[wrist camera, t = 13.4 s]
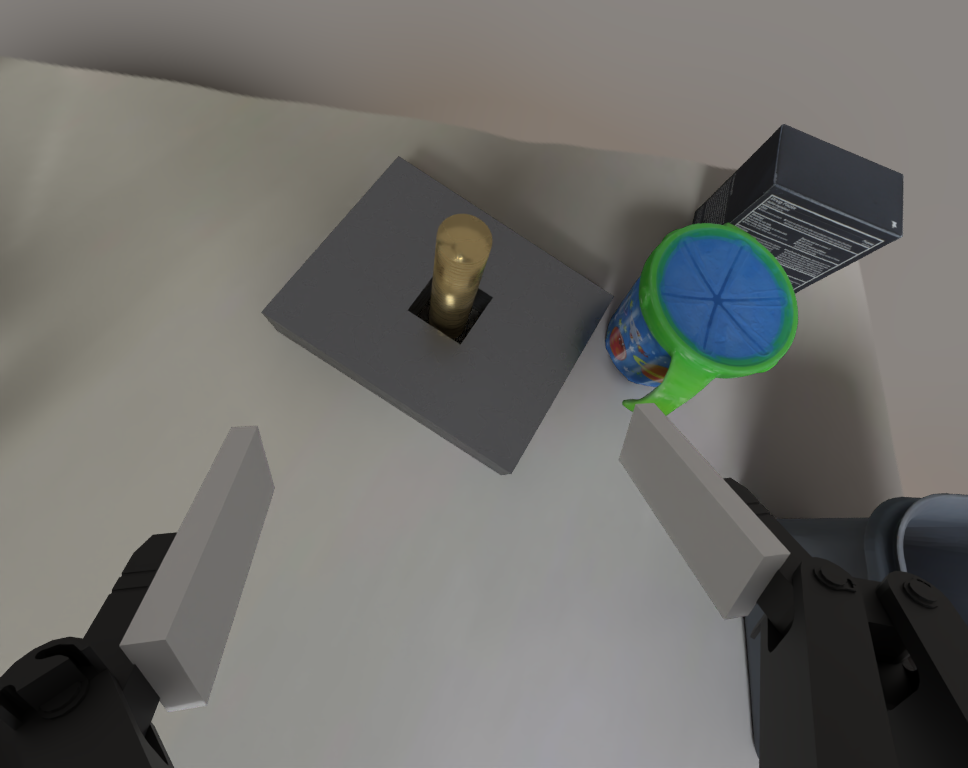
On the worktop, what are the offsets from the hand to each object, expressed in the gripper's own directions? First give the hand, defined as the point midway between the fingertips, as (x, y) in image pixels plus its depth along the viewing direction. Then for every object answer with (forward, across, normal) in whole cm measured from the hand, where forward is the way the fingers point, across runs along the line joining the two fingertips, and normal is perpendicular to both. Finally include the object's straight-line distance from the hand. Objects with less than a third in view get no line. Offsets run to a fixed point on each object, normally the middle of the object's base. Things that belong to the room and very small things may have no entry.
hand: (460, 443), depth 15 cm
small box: (+24, +30, 0) cm, 39 cm away
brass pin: (+20, +2, -4) cm, 20 cm away
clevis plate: (+20, +2, -4) cm, 20 cm away
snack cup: (+18, +19, -6) cm, 27 cm away
